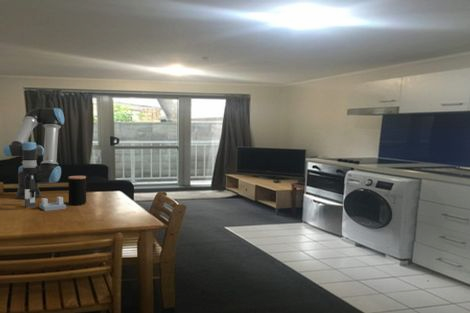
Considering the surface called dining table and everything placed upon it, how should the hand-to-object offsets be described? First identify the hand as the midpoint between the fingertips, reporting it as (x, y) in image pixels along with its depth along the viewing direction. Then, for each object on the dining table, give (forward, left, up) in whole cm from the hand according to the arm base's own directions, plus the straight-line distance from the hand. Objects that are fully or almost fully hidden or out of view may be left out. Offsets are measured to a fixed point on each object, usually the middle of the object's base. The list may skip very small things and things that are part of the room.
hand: (29, 201), depth 231 cm
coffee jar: (+8, +26, -4) cm, 28 cm away
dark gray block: (0, 0, -4) cm, 4 cm away
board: (+11, +10, -4) cm, 15 cm away
